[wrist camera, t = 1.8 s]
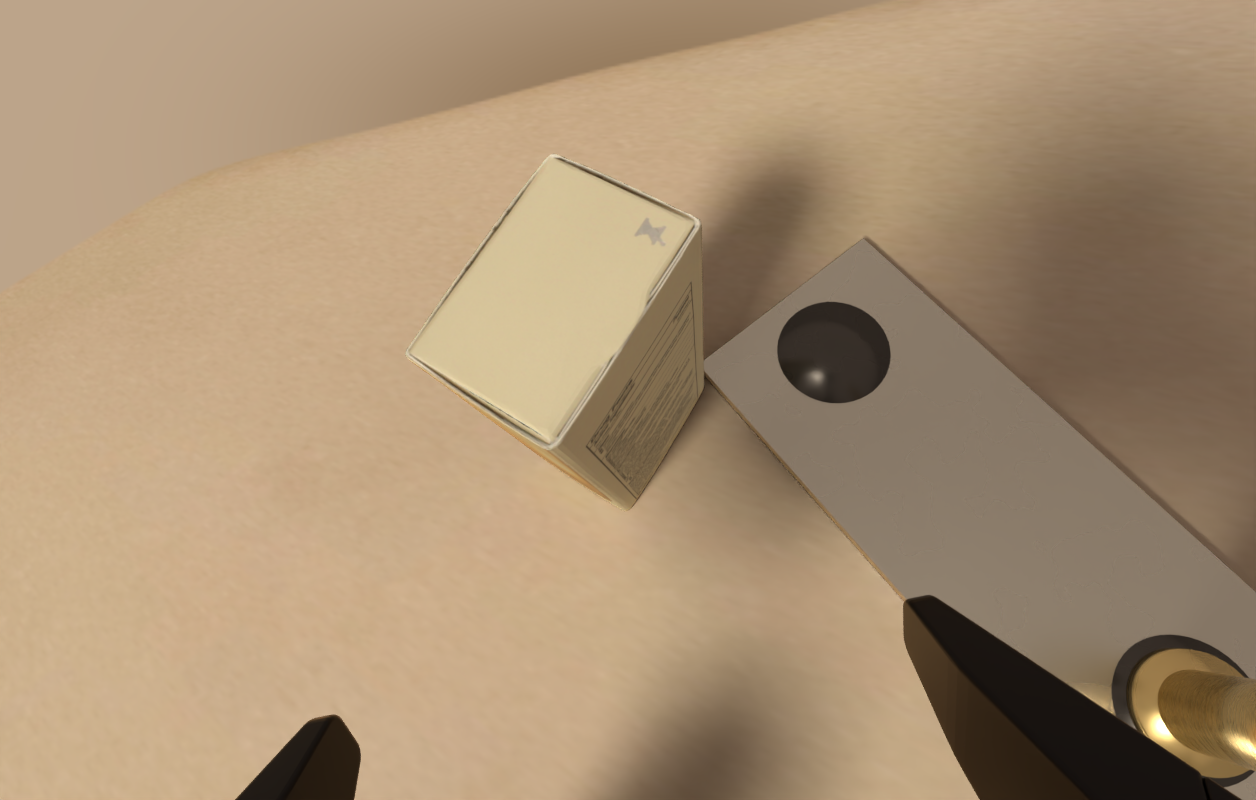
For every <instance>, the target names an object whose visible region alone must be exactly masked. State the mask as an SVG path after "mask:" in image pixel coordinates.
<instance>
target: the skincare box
mask: <svg viewBox="0 0 1256 800" xmlns="http://www.w3.org/2000/svg"><path fill="white" fill-rule="evenodd" d="M702 282H703V277H702V225H701V221H700V220H699V219H698V218H696V217H694V216H692V215H690V214H688V213H686V212H683V211H681V210H679V209H677V208H675V207H673V206H671V205H669V204H667V203H665V202H663V201H661V200H658V199H656V198H654V197H652V196H650V195H648V194H646V193H644V192H642V191H640V190H638V189H635V188H633V187H631V186H629V185H627V184H625V183H622V182H621V181H619V180H616V179H614V178H612V177H610V176H608V175H605V174H603V173H601V172H599V171H597V170H594V169H592V168H589V167H587V166H585V165H582V164H579V163H576V162H574V161H572V160H569V159H567V158H565V157H562V156H560V155H557V154H551V155H549V156H548V157H547V158H546V159H545V160H544V162H543V163H542V164H541V166H540V167H539V168H538V169H537V170H536V171H535V172H534V173H533V175H532V176H531V178H530V179H529V180H528V182H527V183H526V184H525V185H524V186H523V188H522V189H521V190H520V191H519V193H518V194H517V196H516V197H515V198H514V199H513V201H512V202H511V203H510V205H509V206H508V207H507V209H506V210H505V211H504V212H503V214H502V215H501V216H500V218H499V219H498V221H497V222H496V223H495V225H494V226H493V227H492V229H491V230H490V232H489V233H488V235H487V236H486V237H485V238H484V240H483V241H482V242H481V244H480V245H479V247H478V248H477V249H476V251H475V252H474V254H473V255H472V256H471V258H470V259H469V261H468V262H467V263H466V265H465V266H464V268H463V269H462V270H461V272H460V273H459V275H458V276H457V277H456V279H455V280H454V282H453V283H452V285H451V286H450V287H449V289H448V290H447V291H446V293H445V294H444V296H443V297H442V299H441V300H440V302H439V303H438V305H437V306H436V308H435V309H434V311H433V312H432V313H431V315H430V316H429V317H428V319H427V321H426V322H425V324H424V325H423V327H422V328H421V330H420V331H419V333H418V334H417V335H416V337H415V338H414V340H413V341H412V343H411V344H410V345H409V347H408V348H407V350H406V353H405V354H406V357H407V358H408V359H409V360H410V361H411V362H412V363H414V364H415V365H416V366H418V367H419V368H421V369H422V370H423V371H425V372H426V373H428V374H429V375H431V376H432V377H433V378H435V379H436V380H438V381H439V382H440V383H442V384H443V385H444V386H446V387H447V388H448V389H450V390H451V391H452V392H454V393H455V394H456V395H458V396H459V397H460V398H462V399H463V400H464V401H466V402H467V403H468V404H470V405H471V406H472V407H474V408H475V409H476V410H478V411H479V412H480V413H482V414H483V415H485V416H486V417H487V418H489V419H490V420H491V421H493V422H494V423H496V424H497V425H498V426H500V427H501V428H502V429H504V430H505V431H506V432H508V433H509V434H511V435H512V436H513V437H515V438H516V439H517V440H519V441H520V442H521V443H523V444H524V445H525V446H527V447H528V448H529V449H531V450H532V451H533V452H535V453H536V454H537V455H539V456H540V457H542V458H543V459H544V460H546V461H547V462H548V463H550V464H551V465H553V466H554V467H556V468H557V469H559V470H560V471H562V472H563V473H565V474H566V475H568V476H569V477H571V478H572V479H574V480H575V481H577V482H578V483H580V484H581V485H583V486H584V487H586V488H587V489H589V490H590V491H592V492H593V493H595V494H597V495H598V496H600V497H601V498H603V499H605V500H606V501H608V502H609V503H611V504H613V505H614V506H616V507H618V508H619V509H621V510H623V511H628V510H630V509H631V508H632V506H633V505H634V503H635V502H636V500H637V499H638V497H639V496H640V494H641V493H642V491H643V490H644V488H645V487H646V485H647V483H648V482H649V480H650V479H651V477H652V475H653V474H654V472H655V471H656V469H657V468H658V466H659V464H660V463H661V461H662V460H663V458H664V456H665V455H666V453H667V451H668V450H669V448H670V446H671V445H672V443H673V441H674V440H675V438H676V436H677V435H678V433H679V431H680V430H681V428H682V426H683V425H684V423H685V421H686V419H687V418H688V416H689V414H690V412H691V411H692V409H693V407H694V405H695V403H696V402H697V400H698V398H699V396H700V395H701V393H702V391H703V389H704V354H703V284H702Z"/></svg>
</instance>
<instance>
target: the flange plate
mask: <svg viewBox="0 0 1256 800" xmlns="http://www.w3.org/2000/svg"><path fill="white" fill-rule="evenodd" d="M704 376H705V377H706V378H707V379H708V380H709V381H710V382H711V383H712V385H713V386H714V387H715V388H716V389H717V390H718V391H719V392H720V394H721V395H722V396H723V397H724V398H725V399H726V400H727V402H728V403H729V404H730V405H731V406H732V407H733V408H734V409H735V411H736V412H737V413H738V414H739V415H740V416H741V417H742V419H743V420H744V421H745V422H746V423H747V424H748V425H749V426H750V428H751V429H752V430H753V431H754V432H755V433H756V434H757V436H758V437H759V438H760V439H761V440H762V441H763V442H764V443H765V445H766V446H767V447H768V448H769V449H770V450H771V451H772V452H773V454H774V455H775V456H776V457H777V458H778V459H779V460H780V462H781V463H782V464H783V465H784V466H785V467H786V468H787V469H788V471H789V472H790V473H791V474H792V475H793V476H794V477H795V479H796V480H797V481H798V482H799V483H800V484H801V485H802V486H803V488H804V489H805V490H806V491H807V492H808V493H809V494H810V496H811V497H812V498H813V499H814V500H815V501H816V502H817V503H818V505H819V506H820V507H821V508H822V509H823V510H824V511H825V513H826V514H827V515H828V516H829V517H830V518H831V519H832V520H833V522H834V523H835V524H836V525H837V526H838V527H839V528H840V529H841V531H842V532H843V533H844V534H845V535H846V536H847V537H848V539H849V540H850V541H851V542H852V543H853V544H854V545H855V546H856V548H857V549H858V550H859V551H860V552H861V553H862V554H863V556H864V557H865V558H866V559H867V560H868V561H869V562H870V563H871V565H872V566H873V567H874V568H875V569H876V570H877V571H878V573H879V574H880V575H881V576H882V577H883V578H884V579H885V580H886V582H887V583H888V584H889V585H890V586H891V587H892V588H893V589H894V591H895V592H896V593H897V594H898V595H899V596H900V597H901V599H902V600H903V601H905V600H906V599H909V598H914V597H919V596H924V595H932V596H935V597H937V598H938V599H940V600H941V601H943V602H944V603H946V604H947V605H949V606H950V607H952V608H953V609H955V610H957V611H958V612H960V613H961V614H963V615H964V616H966V617H967V618H969V619H970V620H972V621H973V622H975V623H976V624H978V625H979V626H981V627H982V628H984V629H985V630H987V631H988V632H990V633H991V634H993V635H994V636H996V637H997V638H999V639H1000V640H1002V641H1003V642H1005V643H1006V644H1008V645H1009V646H1011V647H1012V648H1014V649H1015V650H1017V651H1018V652H1020V653H1021V654H1023V655H1024V656H1026V657H1027V658H1029V659H1030V660H1032V661H1033V662H1035V663H1036V664H1038V665H1039V666H1041V667H1042V668H1044V669H1045V670H1047V671H1048V672H1050V673H1052V674H1053V675H1055V676H1056V677H1058V678H1059V679H1061V680H1062V681H1064V682H1065V683H1067V684H1068V685H1070V686H1071V687H1073V688H1074V689H1076V690H1077V691H1079V692H1080V693H1082V694H1083V695H1085V696H1086V697H1088V698H1089V699H1091V700H1092V701H1094V702H1095V703H1097V704H1098V705H1100V706H1101V707H1103V708H1104V709H1106V710H1107V711H1109V712H1110V713H1112V714H1113V715H1115V716H1116V717H1118V718H1119V719H1121V720H1122V721H1124V722H1125V723H1127V724H1128V725H1130V726H1131V727H1133V728H1134V729H1136V728H1135V726H1134V724H1133V722H1132V719H1131V717H1130V714H1129V711H1128V707H1127V702H1126V685H1127V681H1128V677H1129V674H1130V672H1131V670H1132V668H1133V667H1134V665H1135V664H1136V663H1137V662H1138V661H1139V660H1140V659H1141V658H1142V657H1144V656H1145V655H1146V654H1148V653H1150V652H1152V651H1155V650H1158V649H1163V648H1183V649H1191V650H1197V651H1202V652H1205V653H1208V654H1211V655H1213V656H1215V657H1217V658H1219V659H1221V660H1223V661H1225V662H1226V663H1228V664H1229V665H1230V666H1232V667H1233V668H1235V669H1236V670H1237V671H1238V672H1239V673H1240V674H1241V675H1242V676H1243V677H1244V678H1250V679H1256V592H1255V591H1254V590H1253V589H1252V588H1251V587H1250V586H1248V585H1247V584H1246V583H1245V582H1244V581H1243V580H1242V579H1241V578H1240V577H1239V576H1237V575H1236V574H1235V573H1234V572H1233V571H1232V570H1231V569H1230V568H1229V567H1227V566H1226V565H1225V564H1224V563H1223V562H1222V561H1221V560H1220V559H1219V558H1217V557H1216V556H1215V555H1214V554H1213V553H1212V552H1211V551H1210V550H1209V549H1207V548H1206V547H1205V546H1204V545H1203V544H1202V543H1201V542H1200V541H1199V540H1197V539H1196V538H1195V537H1194V536H1193V535H1192V534H1191V533H1190V532H1189V531H1187V530H1186V529H1185V528H1184V527H1183V526H1182V525H1181V524H1180V523H1179V522H1178V521H1176V520H1175V519H1174V518H1173V517H1172V516H1171V515H1170V514H1169V513H1168V512H1166V511H1165V510H1164V509H1163V508H1162V507H1161V506H1160V505H1159V504H1158V503H1156V502H1155V501H1154V500H1153V499H1152V498H1151V497H1150V496H1149V495H1148V494H1146V493H1145V492H1144V491H1143V490H1142V489H1141V488H1140V487H1139V486H1138V485H1136V484H1135V483H1134V482H1133V481H1132V480H1131V479H1130V478H1129V477H1128V476H1126V475H1125V474H1124V473H1123V472H1122V471H1121V470H1120V469H1119V468H1118V467H1117V466H1115V465H1114V464H1113V463H1112V462H1111V461H1110V460H1109V459H1108V458H1107V457H1105V456H1104V455H1103V454H1102V453H1101V452H1100V451H1099V450H1098V449H1097V448H1095V447H1094V446H1093V445H1092V444H1091V443H1090V442H1089V441H1088V440H1087V439H1085V438H1084V437H1083V436H1082V435H1081V434H1080V433H1079V432H1078V431H1077V430H1075V429H1074V428H1073V427H1072V426H1071V425H1070V424H1069V423H1068V422H1067V421H1065V420H1064V419H1063V418H1062V417H1061V416H1060V415H1059V414H1058V413H1057V412H1056V411H1054V410H1053V409H1052V408H1051V407H1050V406H1049V405H1048V404H1047V403H1046V402H1044V401H1043V400H1042V399H1041V398H1040V397H1039V396H1038V395H1037V394H1036V393H1034V392H1033V391H1032V390H1031V389H1030V388H1029V387H1028V386H1027V385H1026V384H1024V383H1023V382H1022V381H1021V380H1020V379H1019V378H1018V377H1017V376H1016V375H1014V374H1013V373H1012V372H1011V371H1010V370H1009V369H1008V368H1007V367H1006V366H1005V365H1003V364H1002V363H1001V362H1000V361H999V360H998V359H997V358H996V357H995V356H993V355H992V354H991V353H990V352H989V351H988V350H987V349H986V348H985V347H983V346H982V345H981V344H980V343H979V342H978V341H977V340H976V339H975V338H973V337H972V336H971V335H970V334H969V333H968V332H967V331H966V330H965V329H963V328H962V327H961V326H960V325H959V324H958V323H957V322H956V321H955V320H953V319H952V318H951V317H950V316H949V315H948V314H947V313H946V312H945V311H944V310H942V309H941V308H940V307H939V306H938V305H937V304H936V303H935V302H934V301H932V300H931V299H930V298H929V297H928V296H927V295H926V294H925V293H924V292H922V291H921V290H920V289H919V288H918V287H917V286H916V285H915V284H914V283H912V282H911V281H910V280H909V279H908V278H907V277H906V276H905V275H904V274H902V273H901V272H900V271H899V270H898V269H897V268H896V267H895V266H894V265H892V264H891V263H890V262H889V261H888V260H887V259H886V258H885V257H884V256H883V255H881V254H880V253H879V252H878V251H877V250H876V249H875V248H874V247H873V246H871V245H870V244H869V243H868V242H867V241H866V240H865V239H864V238H863V239H862V240H861V241H859V242H858V243H857V244H855V245H854V246H853V247H851V248H850V249H849V250H847V251H846V252H845V253H844V254H842V255H841V256H840V257H838V258H837V259H836V260H834V261H833V262H832V263H830V264H829V265H828V266H827V267H825V268H824V269H823V270H821V271H820V272H819V273H817V274H816V275H815V276H813V277H812V278H811V279H810V280H808V281H807V282H806V283H804V284H803V285H802V286H800V287H799V288H798V289H796V290H795V291H794V292H793V293H791V294H790V295H789V296H787V297H786V298H785V299H783V300H782V301H781V302H779V303H778V304H777V305H776V306H774V307H773V308H772V309H770V310H769V311H768V312H766V313H765V314H764V315H762V316H761V317H760V318H759V319H757V320H756V321H755V322H753V323H752V324H751V325H749V326H748V327H747V328H745V329H744V330H743V331H742V332H740V333H739V334H738V335H736V336H735V337H734V338H732V339H731V340H730V341H728V342H727V343H726V344H724V345H723V346H722V347H721V348H719V349H718V350H717V351H715V352H714V353H713V354H711V355H710V356H709V357H707V358H706V359H705V360H704ZM1136 730H1137V729H1136ZM1201 776H1202V775H1201ZM1203 777H1206V776H1202V778H1203ZM1208 778H1210V779H1212V780H1213V781H1215V782H1216V783H1218V784H1219V785H1221V786H1222V787H1224V788H1225V789H1227V790H1228V791H1230V792H1231V793H1233V794H1234V795H1236V796H1237V797H1239V798H1240V799H1242V800H1256V771H1253V770H1248V771H1247V772H1245V773H1243V774H1240V775H1238V776H1235V777H1229V778H1212V777H1208Z"/></svg>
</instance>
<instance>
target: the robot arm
mask: <svg viewBox="0 0 1256 800" xmlns="http://www.w3.org/2000/svg"><path fill="white" fill-rule="evenodd" d="M903 626H904V641H905V645H906V648H907V651H908V654H909V656H910V658H911V660H912V663H913V665H914V667H915V669H916V672H917V674H918V676H919V678H920V680H921V683H922V685H923V687H924V689H925V691H926V694H927V696H928V698H929V700H930V703H931V705H932V707H933V709H934V711H935V714H936V716H937V718H938V720H939V723H940V725H941V727H942V729H943V731H944V734H945V736H946V738H947V740H948V742H949V744H950V747H951V749H952V751H953V753H954V755H955V757H956V759H957V760H958V762H959V764H960V766H961V768H962V770H963V772H964V773H965V775H966V777H967V778H968V780H969V782H970V784H971V785H972V787H973V789H974V791H975V792H976V794H977V796H978V798H979V799H980V800H1242V799H1240V798H1239V797H1237V796H1236V795H1234V794H1233V793H1231V792H1230V791H1228V790H1227V789H1225V788H1224V787H1222V786H1221V785H1219V784H1218V783H1216V782H1215V781H1213V780H1212V779H1210V778H1208V777H1203V778H1202V776H1201V774H1200V772H1199V771H1198V770H1196V769H1195V768H1193V767H1192V766H1190V765H1189V764H1187V763H1186V762H1184V761H1183V760H1181V759H1180V758H1178V757H1177V756H1175V755H1174V754H1172V753H1171V752H1169V751H1168V750H1166V749H1165V748H1163V747H1162V746H1160V745H1159V744H1157V743H1156V742H1154V741H1153V740H1151V739H1150V738H1148V737H1146V736H1145V735H1143V734H1142V733H1140V732H1139V731H1137V730H1136V729H1134V728H1133V727H1131V726H1130V725H1128V724H1127V723H1125V722H1124V721H1122V720H1121V719H1119V718H1118V717H1116V716H1115V715H1113V714H1112V713H1110V712H1109V711H1107V710H1106V709H1104V708H1103V707H1101V706H1100V705H1098V704H1097V703H1095V702H1094V701H1092V700H1091V699H1089V698H1088V697H1086V696H1085V695H1083V694H1082V693H1080V692H1079V691H1077V690H1076V689H1074V688H1073V687H1071V686H1070V685H1068V684H1067V683H1065V682H1064V681H1062V680H1061V679H1059V678H1058V677H1056V676H1055V675H1053V674H1052V673H1050V672H1048V671H1047V670H1045V669H1044V668H1042V667H1041V666H1039V665H1038V664H1036V663H1035V662H1033V661H1032V660H1030V659H1029V658H1027V657H1026V656H1024V655H1023V654H1021V653H1020V652H1018V651H1017V650H1015V649H1014V648H1012V647H1011V646H1009V645H1008V644H1006V643H1005V642H1003V641H1002V640H1000V639H999V638H997V637H996V636H994V635H993V634H991V633H990V632H988V631H987V630H985V629H984V628H982V627H981V626H979V625H978V624H976V623H975V622H973V621H972V620H970V619H969V618H967V617H966V616H964V615H963V614H961V613H960V612H958V611H957V610H955V609H953V608H952V607H950V606H949V605H947V604H946V603H944V602H943V601H941V600H940V599H938V598H937V597H935V596H932V595H924V596H919V597H914V598H909V599H906V600H905V601H904V604H903ZM360 761H361V753H360V748H359V745H358V743H357V741H356V740H355V738H354V737H353V735H352V734H351V732H350V731H349V729H348V728H347V726H346V725H345V723H344V722H343V720H342V719H341V718H340V717H339V716H337V715H328V716H323V717H318V718H314V719H312V720H310V721H308V722H307V723H306V724H305V725H304V726H303V727H302V728H301V729H300V730H299V731H298V732H297V733H296V734H295V736H294V737H293V738H292V739H291V740H290V741H289V742H288V743H287V744H286V745H285V746H284V747H283V749H282V750H281V751H280V752H279V753H278V754H277V755H276V756H275V757H274V758H273V759H272V760H271V762H270V763H269V764H268V765H267V766H266V767H265V768H264V769H263V770H262V771H261V772H260V773H259V775H258V776H257V777H256V778H255V779H254V780H253V781H252V782H251V783H250V784H249V785H248V786H247V788H246V789H245V790H244V791H243V792H242V793H241V794H240V795H239V796H238V797H237V798H236V799H235V800H354V797H355V791H356V785H357V779H358V773H359V767H360Z"/></svg>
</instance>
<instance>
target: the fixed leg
mask: <svg viewBox="0 0 1256 800" xmlns="http://www.w3.org/2000/svg"><path fill="white" fill-rule="evenodd" d="M1126 702H1127V707H1128V711H1129V714H1130V717H1131V719H1132V722H1133V724H1134V726H1135V728H1136V729H1137V731H1139V732H1140V733H1142V734H1143V735H1145V736H1146V737H1148V738H1150V739H1151V740H1153V741H1154V742H1156V743H1157V744H1159V745H1160V746H1162V747H1163V748H1165V749H1166V750H1168V751H1169V752H1171V753H1172V754H1174V755H1175V756H1177V757H1178V758H1180V759H1181V760H1183V761H1184V762H1186V763H1187V764H1189V765H1190V766H1192V767H1193V768H1195V769H1196V770H1198V771H1199V772H1200V774H1201V775H1202V776H1206V777H1212V778H1229V777H1235V776H1238V775H1240V774H1243V773H1245V772H1247V771H1248V770H1253V771H1256V679H1250V678H1244V677H1243V676H1242V675H1241V674H1240V673H1239V672H1238V671H1237V670H1236V669H1235V668H1233V667H1232V666H1230V665H1229V664H1228V663H1226V662H1225V661H1223V660H1221V659H1219V658H1217V657H1215V656H1213V655H1211V654H1208V653H1205V652H1202V651H1197V650H1191V649H1183V648H1163V649H1158V650H1155V651H1152V652H1150V653H1148V654H1146V655H1145V656H1144V657H1142V658H1141V659H1140V660H1139V661H1138V662H1137V663H1136V664H1135V665H1134V667H1133V668H1132V670H1131V672H1130V674H1129V677H1128V681H1127V685H1126Z"/></svg>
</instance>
